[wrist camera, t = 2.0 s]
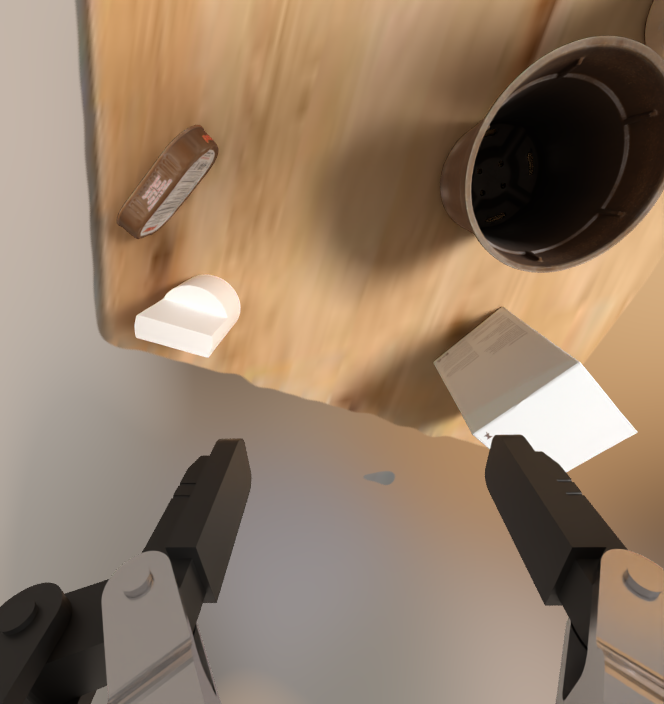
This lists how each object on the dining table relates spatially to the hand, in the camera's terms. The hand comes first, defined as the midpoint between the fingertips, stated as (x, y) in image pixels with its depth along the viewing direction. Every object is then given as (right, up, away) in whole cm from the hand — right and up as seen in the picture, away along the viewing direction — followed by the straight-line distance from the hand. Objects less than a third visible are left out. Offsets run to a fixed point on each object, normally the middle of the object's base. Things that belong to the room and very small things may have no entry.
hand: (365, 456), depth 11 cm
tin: (-20, +25, +31) cm, 44 cm away
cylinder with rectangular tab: (-19, +11, +38) cm, 44 cm away
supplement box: (+24, +2, +41) cm, 48 cm away
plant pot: (+18, +25, +30) cm, 43 cm away
